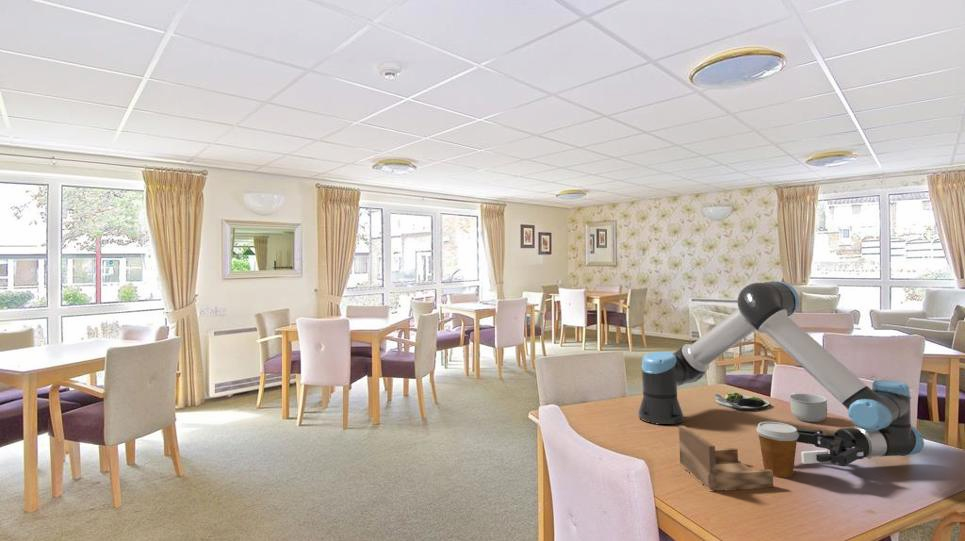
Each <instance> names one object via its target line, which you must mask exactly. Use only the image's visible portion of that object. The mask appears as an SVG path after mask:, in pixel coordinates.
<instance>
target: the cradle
mask: <svg viewBox="0 0 965 541" xmlns="http://www.w3.org/2000/svg"><path fill="white" fill-rule="evenodd" d="M678 439H679V440H678V441H679V465H680V464H681V465H682V466H683V467H684V468H686V469H687V470H688V471H689V472H691V473H692V474H693V475H694V476H695V477H696V478H697V479H698V480H700V481H701V482H702V483H703V484H704V485H705V486H706V487H708V488H709V489H710V490H725V489H727V490H725V491H730V490H729V489H733V490H732V491H737V490H736V489H740V490H751V489H752V490H753V489H754V488H756V489H770V488H769V487H771V488H774V476H773V471H772V470H770V469H768V470H765V469H756V470H754V469H752V468H751V467H749V466H748V465H746V464H745V463H743V462H741V461H740V460H739V454H738V453H739V452H738V451H739V450H738V448H736V447H732V448H731V447H729V448H716V445H715V444H713V443H711V442H710V441H708V440H706V438H704V437H702V436H701V435H700V434H698V433H696V432H695V431H693V430H691V429H690V428H688V427H687V426H685V425H678ZM698 480H697V481H698ZM704 485H703V486H704ZM705 486H704V487H705ZM706 487H705V488H706Z"/></svg>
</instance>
